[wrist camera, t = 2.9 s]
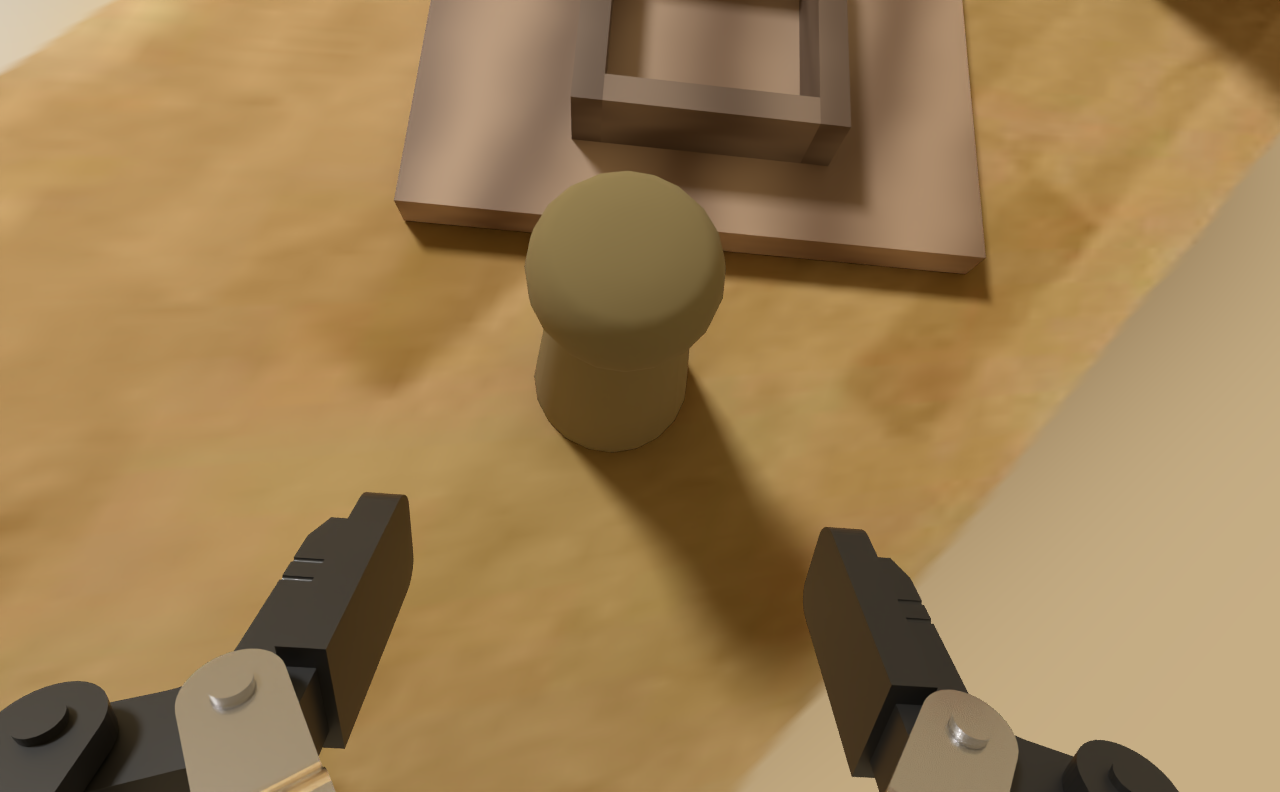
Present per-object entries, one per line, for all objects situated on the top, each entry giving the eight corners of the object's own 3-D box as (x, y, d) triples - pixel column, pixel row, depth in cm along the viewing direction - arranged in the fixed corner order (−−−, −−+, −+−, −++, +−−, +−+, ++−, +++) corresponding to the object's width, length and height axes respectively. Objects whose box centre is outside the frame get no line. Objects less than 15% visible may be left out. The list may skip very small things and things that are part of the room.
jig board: (403, 220, 27) (374, 161, 23) (462, -108, 32) (446, -202, 28) (965, 274, 29) (1024, 226, 25) (939, -48, 34) (985, -129, 30)
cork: (503, 360, 26) (449, 209, 15) (626, 279, 27) (653, 90, 17) (594, 483, 25) (602, 412, 14) (717, 393, 26) (806, 268, 16)
